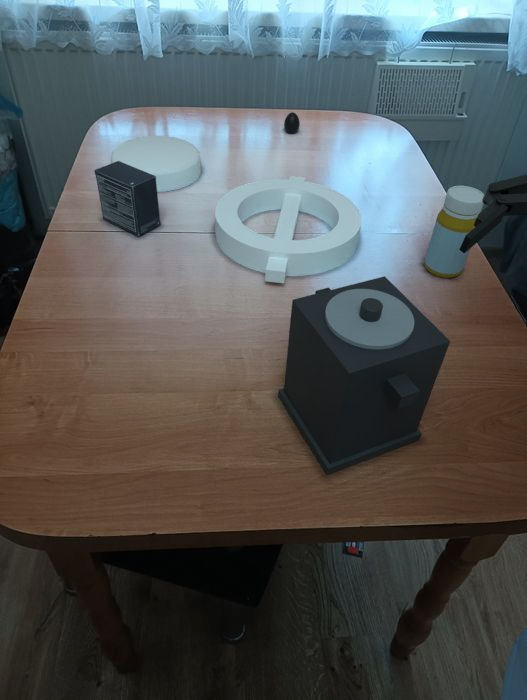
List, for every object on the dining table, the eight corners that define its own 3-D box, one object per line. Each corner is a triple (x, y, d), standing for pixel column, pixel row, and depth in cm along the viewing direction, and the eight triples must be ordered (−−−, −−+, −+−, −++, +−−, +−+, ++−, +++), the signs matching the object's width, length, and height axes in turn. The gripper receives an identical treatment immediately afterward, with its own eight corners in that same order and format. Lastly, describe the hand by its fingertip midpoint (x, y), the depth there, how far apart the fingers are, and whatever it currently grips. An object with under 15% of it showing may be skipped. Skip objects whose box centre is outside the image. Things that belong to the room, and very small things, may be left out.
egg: (297, 135, 143) (299, 116, 139) (282, 133, 143) (283, 114, 140) (299, 129, 146) (301, 110, 142) (284, 128, 146) (286, 109, 143)
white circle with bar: (297, 188, 121) (298, 168, 118) (387, 246, 105) (392, 224, 102) (188, 223, 108) (187, 201, 105) (272, 294, 92) (274, 271, 89)
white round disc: (124, 151, 132) (121, 131, 128) (205, 155, 131) (205, 136, 128) (103, 189, 117) (99, 169, 114) (195, 194, 117) (194, 174, 114)
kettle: (436, 450, 70) (486, 338, 56) (335, 490, 65) (363, 378, 51) (357, 353, 83) (381, 242, 69) (268, 380, 78) (275, 267, 64)
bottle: (415, 266, 100) (436, 192, 90) (437, 253, 104) (460, 180, 93) (447, 284, 97) (472, 208, 86) (468, 270, 100) (496, 196, 90)
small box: (163, 224, 107) (158, 174, 100) (139, 238, 104) (132, 187, 96) (126, 207, 112) (118, 158, 105) (101, 219, 108) (92, 169, 101)
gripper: (705, 259, 63) (596, 372, 58) (528, 146, 72) (420, 235, 67) (754, 217, 56) (635, 341, 51) (552, 99, 65) (434, 194, 60)
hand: (513, 281), depth 59 cm, fingers open, 13 cm apart
